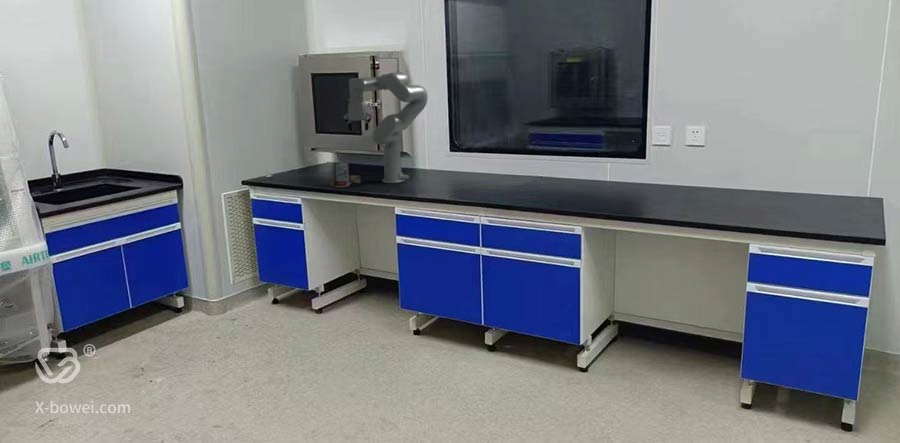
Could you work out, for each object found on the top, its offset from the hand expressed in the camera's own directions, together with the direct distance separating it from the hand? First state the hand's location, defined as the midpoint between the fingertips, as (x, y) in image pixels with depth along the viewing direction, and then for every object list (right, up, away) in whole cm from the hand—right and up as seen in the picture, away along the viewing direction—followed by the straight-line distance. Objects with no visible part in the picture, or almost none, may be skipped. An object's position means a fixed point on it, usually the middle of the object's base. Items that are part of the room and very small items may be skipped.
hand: (358, 130), depth 386 cm
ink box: (-7, -32, -12) cm, 35 cm away
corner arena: (-6, -32, -11) cm, 35 cm away
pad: (-7, -32, -13) cm, 35 cm away
